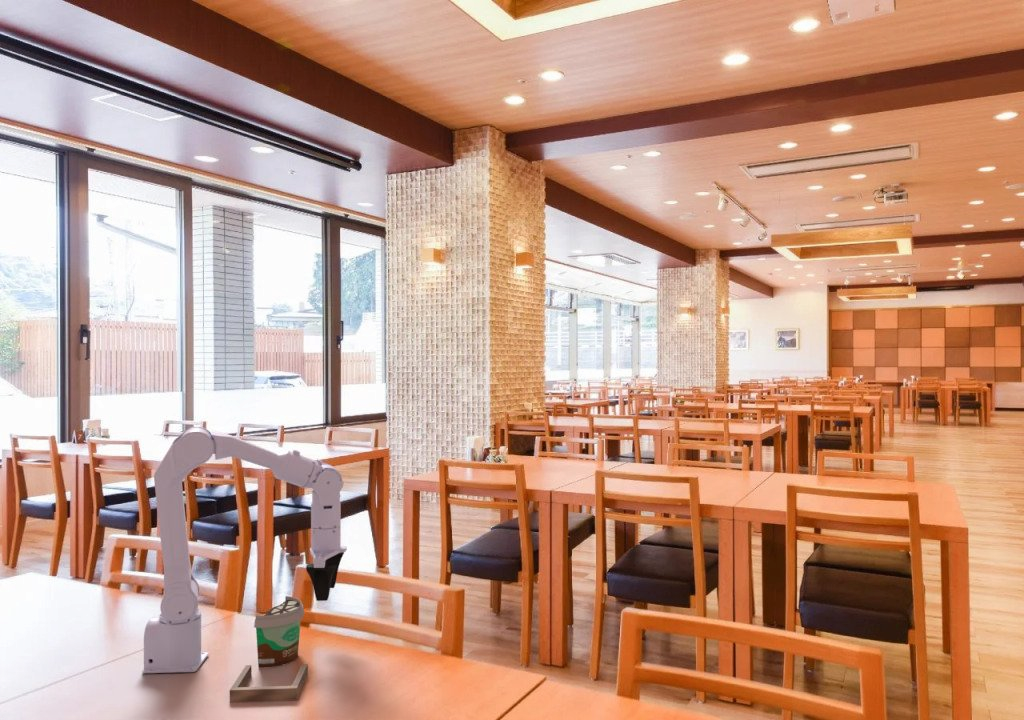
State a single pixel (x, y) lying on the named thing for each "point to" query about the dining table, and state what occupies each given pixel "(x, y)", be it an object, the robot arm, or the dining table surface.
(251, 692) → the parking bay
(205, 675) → the dining table surface
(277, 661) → the food container
